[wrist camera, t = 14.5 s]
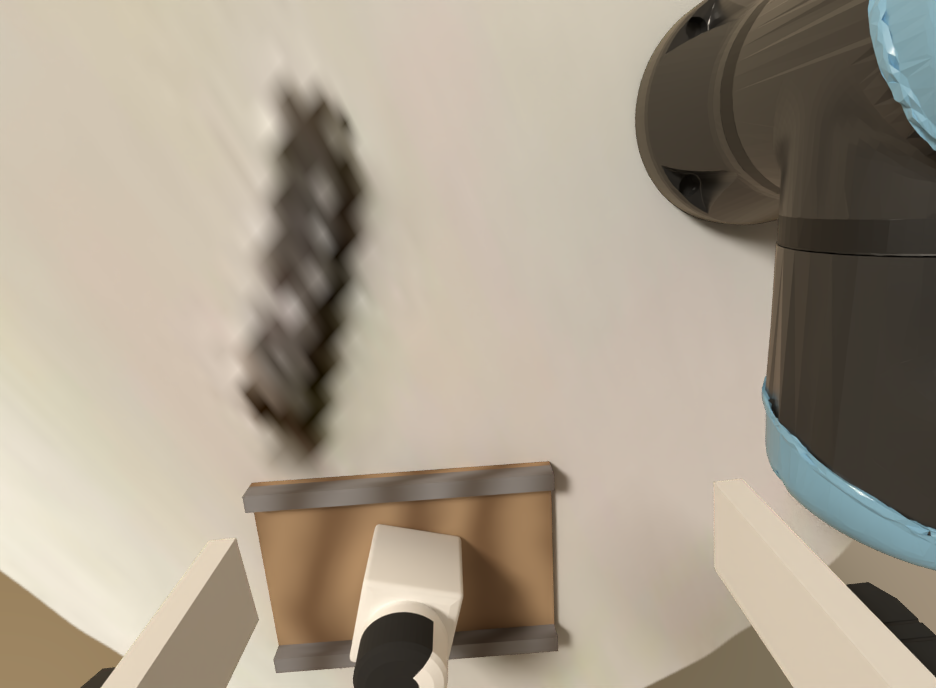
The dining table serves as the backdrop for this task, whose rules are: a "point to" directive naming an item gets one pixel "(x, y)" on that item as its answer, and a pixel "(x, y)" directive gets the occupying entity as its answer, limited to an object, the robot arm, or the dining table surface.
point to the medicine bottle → (407, 609)
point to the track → (421, 508)
